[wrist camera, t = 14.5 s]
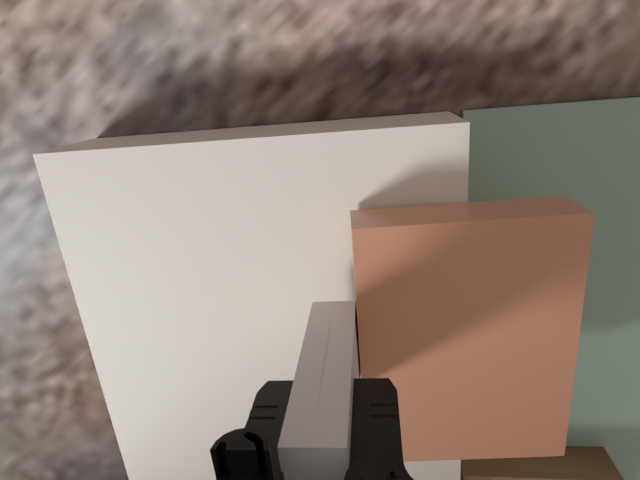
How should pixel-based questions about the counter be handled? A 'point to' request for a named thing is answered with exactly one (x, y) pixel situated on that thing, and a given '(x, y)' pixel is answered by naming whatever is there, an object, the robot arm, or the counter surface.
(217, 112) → the counter surface
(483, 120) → the mat
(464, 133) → the white flat block
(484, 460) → the walnut tile
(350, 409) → the robot arm
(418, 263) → the terracotta tile
